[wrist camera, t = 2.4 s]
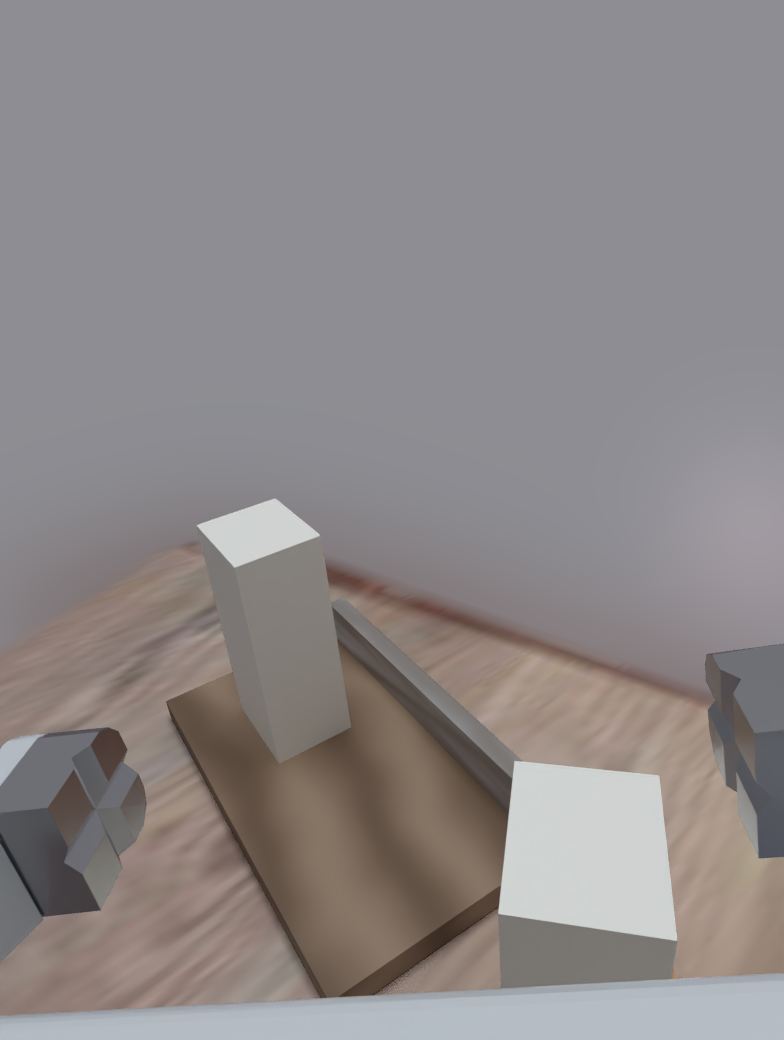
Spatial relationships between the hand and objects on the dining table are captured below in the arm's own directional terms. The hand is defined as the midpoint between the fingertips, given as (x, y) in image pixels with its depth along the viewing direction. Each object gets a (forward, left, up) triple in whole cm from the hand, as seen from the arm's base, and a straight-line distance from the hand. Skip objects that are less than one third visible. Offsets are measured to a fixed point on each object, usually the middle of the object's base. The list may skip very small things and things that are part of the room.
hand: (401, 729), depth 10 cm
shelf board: (0, +25, -28) cm, 37 cm away
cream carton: (+7, +7, -28) cm, 29 cm away
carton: (-3, +30, -26) cm, 40 cm away
